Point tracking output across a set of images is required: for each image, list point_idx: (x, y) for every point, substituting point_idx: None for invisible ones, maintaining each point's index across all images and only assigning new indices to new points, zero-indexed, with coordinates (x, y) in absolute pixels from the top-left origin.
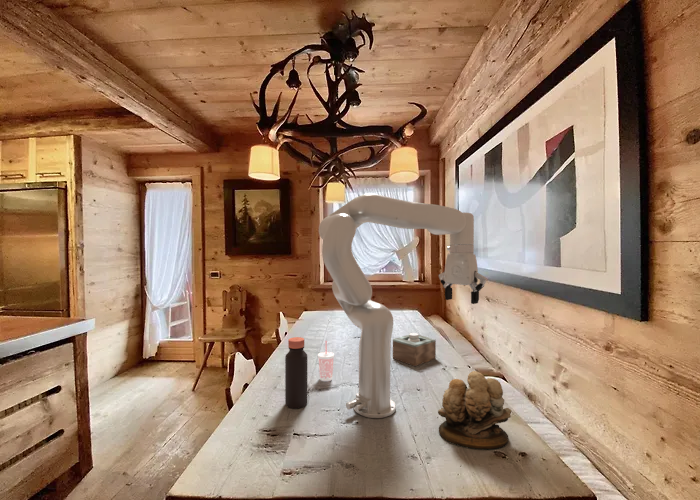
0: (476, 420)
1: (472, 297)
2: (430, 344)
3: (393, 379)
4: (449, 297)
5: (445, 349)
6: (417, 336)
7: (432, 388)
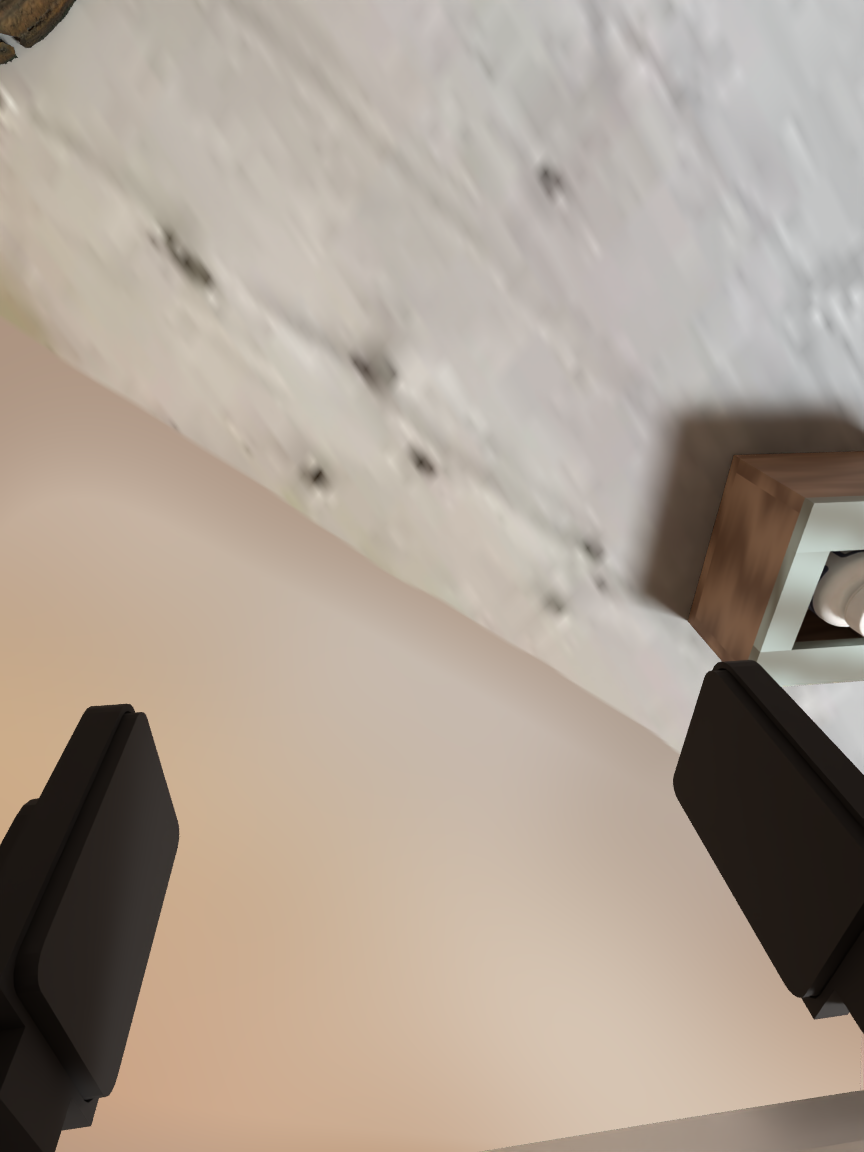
0: (18, 14)
1: (37, 813)
2: (748, 635)
3: (746, 176)
4: (710, 752)
5: None
6: (854, 612)
7: (499, 273)
